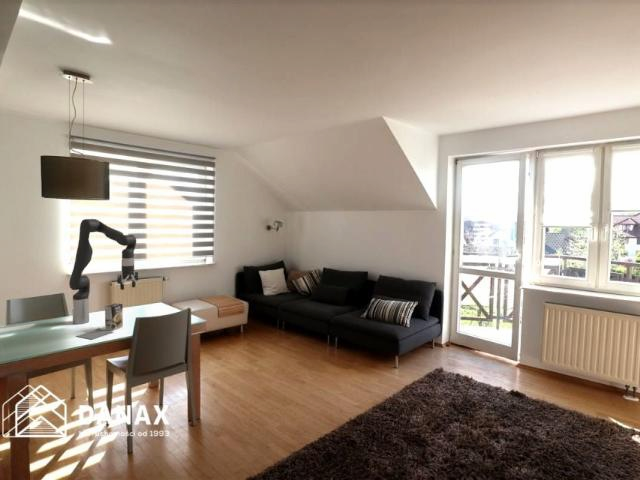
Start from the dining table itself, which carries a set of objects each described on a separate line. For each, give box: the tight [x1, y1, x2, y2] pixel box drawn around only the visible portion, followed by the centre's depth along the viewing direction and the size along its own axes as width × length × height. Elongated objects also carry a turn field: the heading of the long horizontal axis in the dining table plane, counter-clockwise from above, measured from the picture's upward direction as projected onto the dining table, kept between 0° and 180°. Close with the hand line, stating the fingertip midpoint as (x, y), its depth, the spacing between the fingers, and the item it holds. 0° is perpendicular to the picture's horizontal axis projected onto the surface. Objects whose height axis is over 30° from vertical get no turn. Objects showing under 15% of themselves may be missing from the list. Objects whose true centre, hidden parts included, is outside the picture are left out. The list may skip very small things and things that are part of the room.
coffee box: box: [104, 303, 124, 332], centre depth 239 cm, size 9×6×16 cm
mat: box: [76, 328, 115, 341], centre depth 227 cm, size 14×15×1 cm
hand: (128, 288), depth 238 cm, fingers open, 8 cm apart
